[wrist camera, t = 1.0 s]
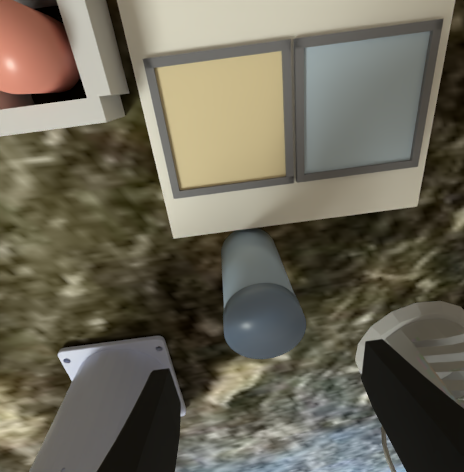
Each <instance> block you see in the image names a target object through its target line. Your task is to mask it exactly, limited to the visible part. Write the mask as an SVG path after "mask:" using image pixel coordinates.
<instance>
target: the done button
mask: <svg viewBox="0 0 464 472" xmlns="http://www.w3.org/2000/svg"><path fill="white" fill-rule="evenodd" d="M79 79H80V74H79V71H78V68H77V65H76V61H75V58H74V55H73V52H72V49H71V45H70V42H69V39H68V36H67V33H66V29H65V26H64V25H63V24H62V23H61V22H59V21H58V20H56V19H55V18H53V17H51V16H48V15H46V14H44V13H41V12H39V11H37V10H34V9H32V8H30V7H28V6H25V5H23V4H21V3H18V2H16V1H14V0H0V91H3V92H6V93H11V94H40V93H61V92H65V91H68V90H69V89H71V88H72V87H74V86H75V85H76V83H77V82H78V81H79Z"/></svg>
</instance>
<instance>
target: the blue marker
mask: <svg viewBox="0 0 464 472" xmlns="http://www.w3.org/2000/svg"><path fill="white" fill-rule="evenodd" d="M221 258H222V280H223V301H224V312H223V324H224V337H225V340H226V342H227V344H228V345H229V346H230V348H231V349H232V350H234V351H235V352H237V353H238V354H240V355H242V356H245V357H248V358H254V359H268V358H273V357H277V356H280V355H282V354H284V353H286V352H288V351H290V350H291V349H293V348H294V347H295V346H296V345H297V344H298V343H299V342H300V341H301V339H302V337H303V335H304V333H305V329H306V320H305V316H304V314H303V311H302V309H301V306H300V304H299V301H298V299H297V298H296V296H295V294H294V292H293V289H292V287H291V284H290V281H289V279H288V276H287V274H286V271H285V269H284V266H283V264H282V261H281V258H280V256H279V253H278V251H277V248H276V246H275V243H274V241H273V239H272V238H271V236H270V235H269V234H268V233H267V232H265V231H263V230H261V229H258V228H250V229H243V230H236V231H234V232H233V233H231V234H230V235H229V236H228V237H227V238H226V239H225V241H224V243H223V245H222V249H221Z"/></svg>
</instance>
